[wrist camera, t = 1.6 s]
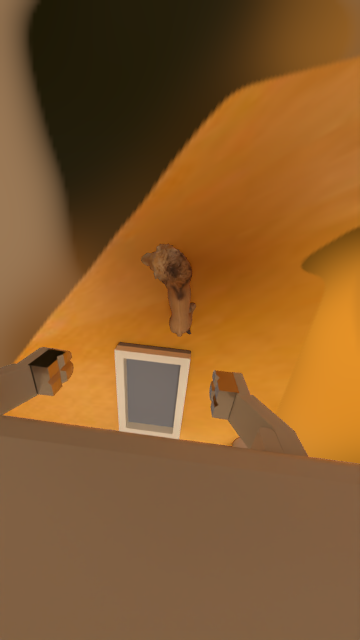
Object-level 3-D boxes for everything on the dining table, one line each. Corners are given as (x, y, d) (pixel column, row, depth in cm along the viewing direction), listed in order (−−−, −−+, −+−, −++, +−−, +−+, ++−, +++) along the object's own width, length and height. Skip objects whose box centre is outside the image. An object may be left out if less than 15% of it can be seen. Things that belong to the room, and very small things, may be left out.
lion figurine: (150, 247, 27) (131, 251, 18) (186, 237, 26) (182, 236, 18) (176, 335, 32) (170, 367, 24) (206, 329, 31) (210, 361, 23)
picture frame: (190, 350, 33) (190, 359, 31) (179, 428, 42) (178, 439, 39) (119, 342, 33) (114, 349, 31) (123, 421, 42) (119, 431, 40)
